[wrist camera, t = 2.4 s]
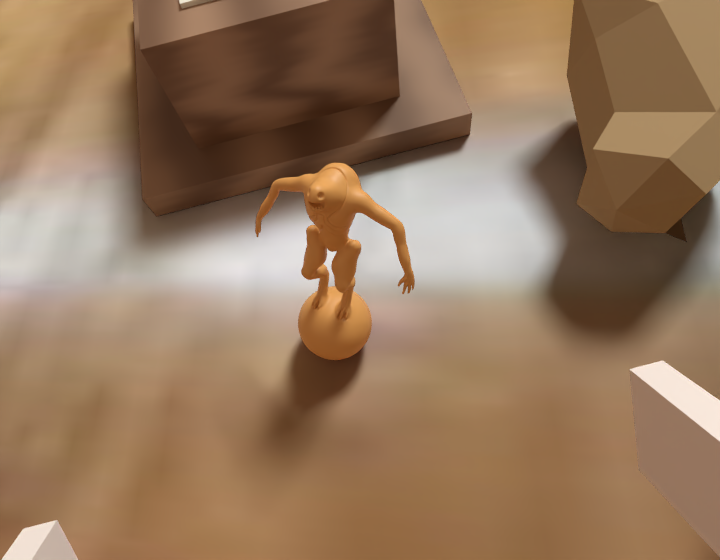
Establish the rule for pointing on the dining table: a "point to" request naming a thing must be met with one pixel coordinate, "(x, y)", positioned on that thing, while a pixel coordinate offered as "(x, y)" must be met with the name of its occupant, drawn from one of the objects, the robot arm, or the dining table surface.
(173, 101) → the pedestal
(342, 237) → the figurine
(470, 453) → the dining table surface
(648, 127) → the low-poly potato
